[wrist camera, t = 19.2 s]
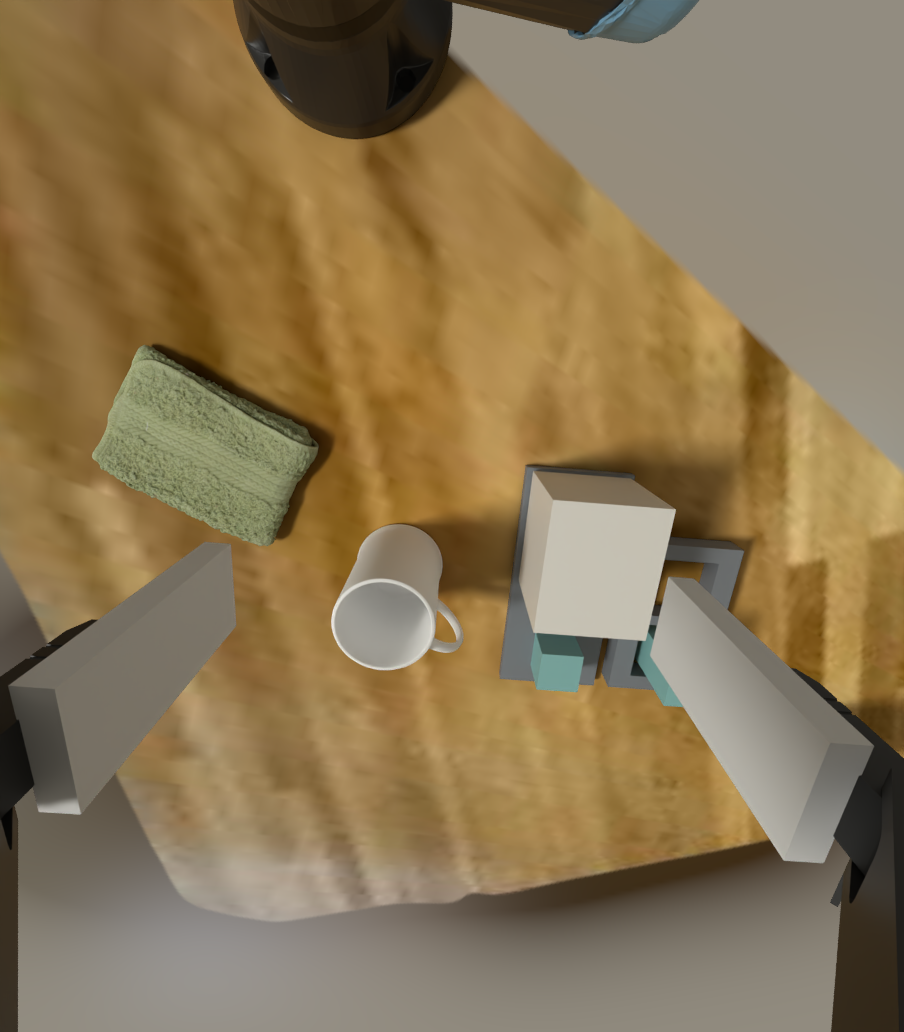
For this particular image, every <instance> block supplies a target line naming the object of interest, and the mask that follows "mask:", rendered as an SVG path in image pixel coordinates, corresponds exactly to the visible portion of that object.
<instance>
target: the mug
mask: <svg viewBox="0 0 904 1032" xmlns="http://www.w3.org/2000/svg"><path fill="white" fill-rule="evenodd" d="M442 568H443V562H442V556H441V553H440V550H439V548H438V546H437V544H436V543H435V542H434V540H433V539H432V538H431V537H430V536H429V535H428V534H426V533H425V532H424V531H422V530H420V529H418V528H416V527H413V526H410V525H404V524H393V525H388V526H384V527H381V528H379V529H377V530H376V531H374V532H373V533H371V534H370V535H369V536H368V537H367V538H366V539H365V541H364V542H363V544H362V545H361V547H360V550H359V553H358V558H357V561H356V563H355V565H354V567H353V569H352V572H351V574H350V576H349V578H348V580H347V582H346V584H345V586H344V588H343V590H342V592H341V594H340V596H339V598H338V600H337V602H336V604H335V607H334V610H333V613H332V631H333V635H334V637H335V640H336V642H337V644H338V645H339V647H340V648H341V649H342V651H343V652H344V653H345V654H346V655H347V656H348V657H350V658H351V659H352V660H354V661H355V662H357V663H359V664H361V665H363V666H366V667H369V668H372V669H378V670H394V669H399V668H403V667H406V666H408V665H410V664H412V663H414V662H416V661H417V660H418V659H420V658H421V657H422V656H423V655H424V654H425V653H426V652H427V650H428V649H432V650H435V651H438V652H444V653H449V652H453V651H455V650H457V649H458V648H459V647H460V646H461V644H462V642H463V631H462V628H461V625H460V623H459V621H458V620H457V618H456V617H455V615H454V614H453V613H452V612H451V610H450V609H449V608H448V607H447V606H446V605H445V604H444V603H443V602H442V601H440V600H439V599H438V588H439V580H440V577H441V574H442ZM437 610H438V611H439V612H440V613H442V614H443V616H444V617H445V618H446V619H447V620H448V621H449V623H450V624H451V626H452V627H453V629H454V631H455V634H456V642H455V643H446V642H442V641H440V640H437V639H436V638H434V635H435V628H436V615H437Z"/></svg>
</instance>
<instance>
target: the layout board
mask: <svg viewBox="0 0 904 1032" xmlns="http://www.w3.org/2000/svg"><path fill="white" fill-rule="evenodd" d="M533 471H542V472H555V473H567V474H580V475H593V476H606V477H618V478H631V479H632V480H634V479H635V475H633V474H632V473H621V472H608V471H596V470H583V469H570V468H558V467H545V466H532V465H526V468H525V476H524V484H523V491H522V499H521V507H520V515H519V523H518V531H517V538H516V546H515V554H514V562H513V570H512V578H511V586H510V593H509V601H508V609H507V617H506V625H505V633H504V641H503V648H502V656H501V664H500V672H499V674H500V679H511V680H525V681H535V685H536V689H539V690H553V691H567V692H577V691H578V686H579V684H581V685H594V680H595V675H596V670H597V664H598V659H599V654H600V649H601V644H602V639H603V638H599V637H585V636H572V635H558V634H544V633H533V629H532V626H531V622H530V619H529V615H528V612H527V608H526V605H525V601H524V597H523V594H522V590H521V587H520V583H519V574H520V566H521V559H522V551H523V543H524V536H525V528H526V521H527V513H528V506H529V498H530V491H531V483H532V476H533Z"/></svg>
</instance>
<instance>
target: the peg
mask: <svg viewBox="0 0 904 1032" xmlns="http://www.w3.org/2000/svg"><path fill="white" fill-rule="evenodd" d="M656 628H657V625H649V629H648V633H647V637H646V641H640V640H638V643H637V647H636V652H635V656H634V657H635V658H636V660H637V662H638V663H639V665H640V667H641V668H642V670H643V672H644V673H645V675H646V677H647V679H648V680H649V682H650V684H651V685H652V687H653V689H654V690H655V692H656V694H657V695H658V697H659V699H660V700H661V702H662V704H663V705H664V706H677V707H683V705H682V704H681V702H680V701H679V699H678V698H677V696H676V695H675V693H674V692H673V690H672V688H671V687H670V685H669V684H668V682H667V681H666V679H665V678H664V676H663V675H662V673H661V672H660V670H659V669H658V667H657V665H656V664H655V662H654V661H653V659H652V658H651V656H650V653H651V649H652V645H653V641H654V636H655V632H656Z"/></svg>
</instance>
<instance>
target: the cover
mask: <svg viewBox="0 0 904 1032" xmlns="http://www.w3.org/2000/svg"><path fill="white" fill-rule="evenodd" d="M675 512H676V509H675V508H673V507H672V506H670V505H669V504H667V503H666V502H664V501H663V500H661V499H660V498H659V497H657V496H656V495H654V494H653V493H651V492H650V491H648V490H647V489H645V488H644V487H643V486H641V485H640V484H638V483H637V482H635V481H634V480H632V479H631V478H618V477H606V476H593V475H580V474H567V473H555V472H542V471H533V476H532V483H531V491H530V498H529V506H528V513H527V521H526V528H525V536H524V543H523V551H522V559H521V566H520V574H519V583H520V587H521V590H522V594H523V597H524V601H525V605H526V608H527V612H528V615H529V619H530V622H531V626H532V629H533V633H544V634H558V635H572V636H585V637H599V638H613V639H626V640H640V641H646V637H647V633H648V629H649V624H650V620H651V616H652V611H653V607H654V603H655V598H656V594H657V590H658V586H659V581H660V577H661V573H662V568H663V564H664V560H665V555H666V551H667V547H668V542H669V538H670V534H671V529H672V525H673V521H674V516H675Z"/></svg>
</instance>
